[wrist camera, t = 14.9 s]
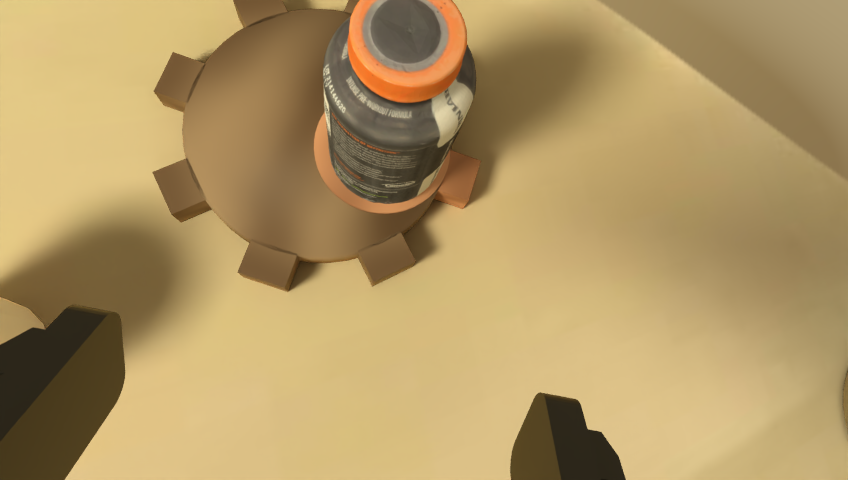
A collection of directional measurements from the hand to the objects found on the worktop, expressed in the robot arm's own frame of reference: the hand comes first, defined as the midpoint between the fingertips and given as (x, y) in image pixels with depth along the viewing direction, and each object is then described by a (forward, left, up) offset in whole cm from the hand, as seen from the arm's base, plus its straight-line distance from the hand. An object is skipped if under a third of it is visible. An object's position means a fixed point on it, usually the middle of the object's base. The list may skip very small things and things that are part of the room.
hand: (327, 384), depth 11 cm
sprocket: (+5, -11, -18) cm, 22 cm away
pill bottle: (+1, -11, -17) cm, 20 cm away
